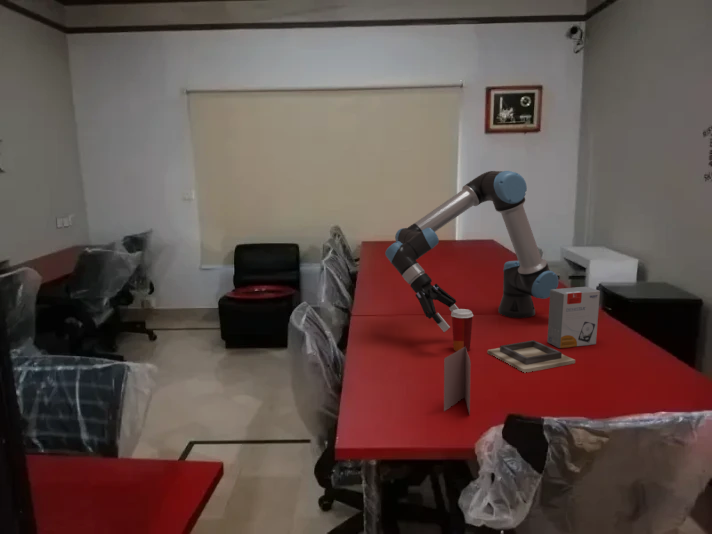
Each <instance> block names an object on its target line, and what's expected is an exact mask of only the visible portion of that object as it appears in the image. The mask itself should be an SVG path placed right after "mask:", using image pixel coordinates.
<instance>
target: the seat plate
mask: <svg viewBox="0 0 712 534" xmlns="http://www.w3.org/2000/svg"><path fill="white" fill-rule="evenodd" d="M487 354H488V355H490V356H492V355H493V356H495V357H496V358H495V357H494V358H495V359H497V358H498V360H499V359H500V361H501V360H502V361H501V362H503V361H504V362H503V363H505V362H506V363H508V364H509V365H508V364H507V365H508V366H510V365H511V366H510V367H512V366H513V367H512V368H514V367H515V368H514V369H516V368H517V369H516V370H518V371H520V372H521V371H522V373H523V372H524V374H526V372H527V373H531V372H532V371H533V372H537V371H542V370H547V369H553V368H557V367H558V368H559V367H563V366H568V365H575V364H576V359H574V358H572V357H569V356H567V355H565V354H563V353H562V352H561V351H559V350H557V349H554V348H553V347H551V346H547V345H545V344H543V343H541V342H538V341H536V340H534V339H532V340H528V341H521V342H516V343H515V342H514V343H510V344H504V345H503V344H502V345H500V346H499V347H497V348H491V349H487ZM493 356H492V357H493ZM506 363H505V364H506Z"/></svg>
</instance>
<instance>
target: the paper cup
mask: <svg viewBox="0 0 712 534" xmlns="http://www.w3.org/2000/svg"><path fill="white" fill-rule="evenodd" d="M450 316H451V322H452V341H453V344H452V345H453V350H454V351H455V352H457V351H458V350H460V349H462V348H464V347H466V350H467V351H468V352H469V351H470V350H471V340H472V328H473V327H472V326H473V317H474V314H473V311H472V310H470V309H468V308H467V309H465V308H459V309H456V310H453V312H451V314H450Z"/></svg>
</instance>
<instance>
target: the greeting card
mask: <svg viewBox="0 0 712 534" xmlns="http://www.w3.org/2000/svg"><path fill="white" fill-rule="evenodd" d="M468 352H469V351H468ZM468 352H467V350H466V347H464V348H462V349H460V350H458V351H455V352H453V353H452V354H450V355H448V356H446V357H444V358H443V359H444V362H443V365H444V366H443V367H444V368H443V374H444V375H443V381H444V382H443V412H446V411H447V410H448V409H450V408H452V407H454V406H455V405H456V404H457V403H458V401H459V402H460V401H461V399H462V400H463V399H464V400H465V403H466V408H467V411H468V415H469V416H470V415H471V414H470V413H471V359H470V356H469V353H468ZM451 406H452V407H451Z"/></svg>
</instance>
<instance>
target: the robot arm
mask: <svg viewBox="0 0 712 534" xmlns="http://www.w3.org/2000/svg"><path fill="white" fill-rule="evenodd" d="M527 188H528V187H527V183H526V180H525V178H524V177H523V176H522V175H521V174H520V173H518V172H516V171H510V170H504V171H503V170H502V171H501V170H499V171H498V170H490V171H485V172H484V173H482V174H480V175H478V176H476V177H475V178H473V179H472V180H470V181H469V182H468V183H466V184H464V185H463V186H462V189H461V190H460V191H459V192H458V193H456V194H455V195H453V196H452V197H450V198H449V199H447V200H446V201H444V202H442V203H441V204H439V206H437V207H435V208H434V209H432V210H431V211H430V212H428V213H426V215H424V216H423V217H421V218H420V219H419V220H417V221H415V222H414V223H413V224H410V226H408V227H403V228H402V227H401V228H400V229H398V230H397V231H396V233H395V238H394V239H395V242H393V243H391V245H389V246H388V247H387V248H386V250H385V252H384V253H385V257H386V258H387V259H388V261H389V262H390V264H392V266H393V267H394V268H395V269H396V270H397V272H398V273H399V274H400V275H401V277H402V278H403V279H404V281H405V282H406V283H407V284H408V285H409V287H410V288H411V289H412V291H414V293H415V297H416V299H417V300H418V302H419V305H420V306H421V308H422V311H423V313H424V316H425V317H426V318H428V319H429V320H431V319H432V320H433V321H434V322H435V323H436V324H437V326H438V327H439V328H440V329H441V330H442V332H443V333H445V332H447V331H448V330H449V329H450V328H451V326H450V325H449V324H448V322H447V321H446V320H445V319H444V318H443V317H442V316H441V314H440V313H439V312H437V310H436V307H435V304H434V301H438V302H440V303H442V304H443V305H445V306H446V307H448V309H449V311H450V312H451V313H452V312H453V310H456V309H460V308H459V307H458V306H457V305H456V303H457V300H456V299H455V298H454V297H453V296H452V295H450V294H449V293H448V292H447V291H445V290H444V289H443V288H442V287H440V286H439V285H438V283H435V284H434V285H432V280H433V279H432V278H431V277H430V276H429V274H428V273H426V272H425V269H424V268H423V267H422V266H421V265H420V263H418V261H417V260H418V259H419V258H421V257H423V256H424V255H425V254H427V253H428V252H429V251H431V250H433V249H434V248H435V247H436V246H438V245H439V241H440V240H439V237H438V235H437V233H436V232H437V231H439V230H440V229H441V228H443V227H445V226H446V225H447V224H449V223H450V222H452V221H454V219H456V218H458V217H459V216H460V215H461V214H463V213H465V212H466V211H467V210H469V209H470V208H472V207H478V206H479V205H481V204H482V203H485V202H492V203H493V207H494V210H495V211H496V212H498V213H500V214H501V217H502V219H503V222H504V225H505V227H506V231H507V233H508V236H509V239H510V241H511V243H512V247H513V250H514V252H515V255H516V257H517V260H509V261H506V262H505V263H504V264H503V270H502V271H503V281H502V282H503V284H502V287H503V288H502V290H503V291H502V292H503V293H502V297H501V300H500V303H499V306H498V314H499V313H500V314H499V315H501V314H502V315H501V316H503V315H505V316H504V317H507V316H508V317H507V318H514V319H515V318H518V319H520V318H522V319H524V318H525V319H527V318H531V317H534V316H535V315H536V309H535V305H534V302H533V298H532V297H534V298H536V299H540V300H541V299H542V300H544V299H545V300H546V299H548V298H550V290H551V289H558V286H559V281H560V280H559V276H558V275H557V273H556V272H554V271H553V270H550V268H549V265H548V262H547V260H546V259H543V258H542V256H541V253H540V250H539V248H538V246H537V242H536V239H535V236H534V233H533V231H532V228H531V224H530V222H529V219H528V216H527V213H526V210H525V207H524V204H525V202H526V197H525V196H526V194H527V193H526V192H527Z"/></svg>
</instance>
